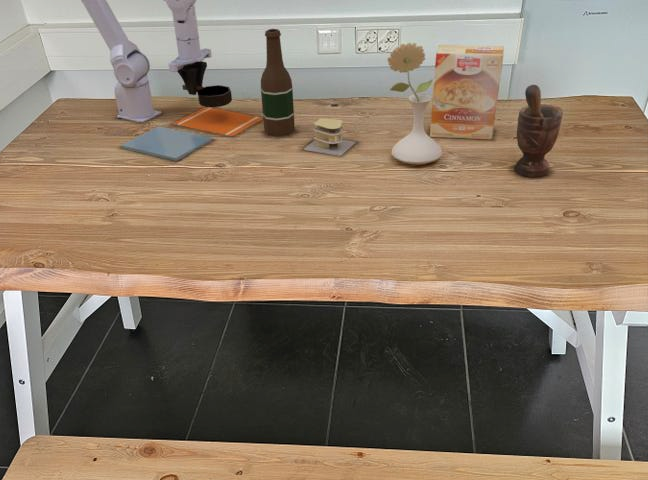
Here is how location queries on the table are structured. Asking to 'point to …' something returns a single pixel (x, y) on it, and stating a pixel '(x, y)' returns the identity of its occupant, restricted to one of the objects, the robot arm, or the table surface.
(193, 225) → the table surface
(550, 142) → the mortar and pestle
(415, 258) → the table surface
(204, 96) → the skillet
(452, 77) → the coffeecake box
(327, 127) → the stacked layers on plate
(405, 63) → the flower in vase
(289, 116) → the beer bottle
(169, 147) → the trivet
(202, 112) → the tea towel
